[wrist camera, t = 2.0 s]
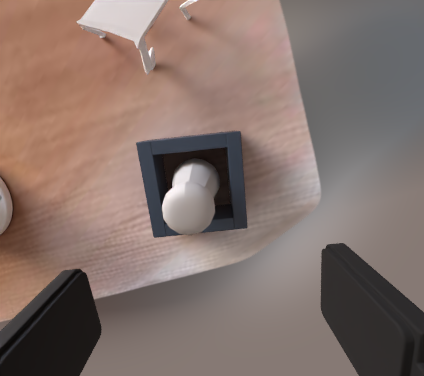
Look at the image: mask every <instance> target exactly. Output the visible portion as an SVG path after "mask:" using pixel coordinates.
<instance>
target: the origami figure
mask: <svg viewBox="0 0 424 376" xmlns="http://www.w3.org/2000/svg"><path fill="white" fill-rule="evenodd" d="M195 1H197V0H188V1H186V2H185V3H183V4H182V5H181V6H180V7H179V9H180V10H181V12H182V13H183V15H184V16H185V18H186V19H187V20H189V19H190V18H191V16H190V15H189V13H188V11H187V10H186V8H185V7H186V6H188V5H190V4H192V3H194V2H195ZM167 2H168V0H95V1H94V2H93V4H92V5H91V6H90V8H89V9H88V10H87V12H86V13H85V14H84V16H83V17H82V18H81V19H80V20H79V21H77V22H76V23H78V24H79V26H80V27H81V28H82V29H83V30H86V31H89V32H92V33H94V34H97V35H99V36H100V38H103V37H105V36H106V35H107V34H105V33H103V32H101V31H106V32H111V33H114V34H116V35H119V36H121V37H124V38H127V39H129V40H132V41H134V42H135V45H136V48H137V49H139V50H140V54H141V58H142V62H143V66H144V70H145V72H146V73H147V75H148V74H149V72H150V70H153V69H154V67H155V65H156V62H155V54H154V48H153V47H151V49H150V50H149V52H148V49H147V46H146V42H145V39H144V37H145V35H146V34H147V32H148V31H149V29H150V28H151V26H152V25H153V23H154V22H155V20H156V19H157V17H158V16H159V14H160V12H161V11H162V9H163V8H164V6H165V5H166V3H167ZM99 30H101V31H99Z"/></svg>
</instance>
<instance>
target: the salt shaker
mask: <svg viewBox="0 0 424 376" xmlns="http://www.w3.org/2000/svg"><path fill="white" fill-rule="evenodd" d="M172 186H173V188H172V189H171V190H170V191H168V192H167V194H166V195H165V198H164V201H163V204H162V212H163V219H164V220H165V222H166V223H167V225H168V226H169V227H170V228H171V229H172V230H174V231H176V232H177V233H179V234H185V235H193V234H197V233H200V232H202V231H203V230H204V229H206V228H207V227H208V226H209V225H210V223H211V221H212V218H213V216H214V214H215V205H214V197H215V196H216V194H217V192H218V189H219V187H220V180H219V174H218V173H217V171H216V169H215V167H214V166H213V165H211V164H210V163H208V162H207V161H205V160H201V159H194V158H193V159H190V160H187V161H184V162H182V163H181V164H180V165H179V166H178V167H177V168H176V169H175V172H174V175H173V177H172Z"/></svg>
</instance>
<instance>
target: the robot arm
mask: <svg viewBox="0 0 424 376" xmlns="http://www.w3.org/2000/svg"><path fill="white" fill-rule="evenodd" d="M12 211H13V207H12V200H11V196H10V193H9V191H8V189H7V187H6V185H5V183H4V182H3V180H2V179H1V177H0V235H1V234H2V233H3V232H4V231H5V230H6V228H7V227H8V225H9V223H10V221H11V218H12ZM321 311H322V314H323V316H324V318H325V320H326V321H327V323H328V325H329V326H330V328H331V330H332V331H333V333H334V335H335V336H336V338H337V340H338V341H339V343H340V345H341V347H342V348H343V350H344V352H345V353H346V355H347V357H348V358H349V360H350V362H351V363H352V365H353V367H354V368H355V370H356V372H357V373H358V375H359V376H424V312H423V311H422V310H420V309H419V308H418V307H417V306H416V305H415V304H414V303H412V302H411V301H410V300H409V299H408V298H406V297H405V296H404V295H403V294H402V293H401V292H400V291H399V290H397V289H396V288H395V287H394V286H393V285H392V284H390V283H389V282H388V281H387V280H386V279H385V278H383V277H382V276H381V275H380V274H379V273H378V272H377V271H375V270H374V269H373V268H372V267H371V266H369V265H368V264H367V263H366V262H365V261H364V260H362V259H361V258H360V257H359V256H358V255H357V254H355V252H353V251H352V250H351V249H350V248H349V247H347V246H346V245H345V244H343V243H339V244H329V245H327V246H326V249H323V250H322V264H321ZM100 335H101V324H100V320H99V317H98V313H97V310H96V306H95V302H94V299H93V295H92V292H91V288H90V285H89V281H88V278H87V275H86V273H85V272H82V270H81V269H73V270H64V271H62V272H61V273H60V274H59V275H58V276H57V277H56V278H55V279H54V280H53V281H52V282H51V283H50V284H49V285H48V286H47V287H46V288H44V289H43V290H42V291H41V292H40V293H39V294H38V295H37V296H36V297H35V298H34V299H33V300H32V301H31V302H30V303H29V304H28V305H27V306H26V307H25V308H24V309H23V310H22V311H21V312H20V313H19V314H17V315H16V316H15V317H14V318H13V319H12V320H11V321H10V322H9V323H8V324H7V325H6V326H5V327H4V328H3V329H2V330H1V331H0V376H79V375H80V373H81V372H82V370H83V368H84V366H85V364H86V362H87V360H88V358H89V357H90V355H91V353H92V351H93V349H94V347H95V345H96V343H97V342H98V339H99V338H100Z"/></svg>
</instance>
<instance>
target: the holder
mask: <svg viewBox="0 0 424 376" xmlns="http://www.w3.org/2000/svg"><path fill="white" fill-rule="evenodd" d="M136 145H137V150H138V155H139V161H140V166H141V172H142V177H143V182H144V188H145V193H146V198H147V204H148V209H149V214H150V220H151V225H152V231H153V236H154V238H156V237H166V236H174V235H184V234H179V233H177V232H176V231H174V230H172V229H171V228H170V227H169V226H168V225H167V223H166V222H165V220H164V219H163V212H162V204H163V201H164V198H165V195H166V194H167V192H168V185H167V179H166V173H165V167H164V160H163V154H170V153H179V152H188V151H198V150H207V149H216V148H225V154H226V165H227V176H228V187H229V198H230V204H225V205H215V214H214V216H213V218H212V221H211V223H210V225H209V226H208V227H207V228H206V229H204V230H203V231H202V232H200V233H204V232H214V231H224V230H234V229H244V228H247V215H246V201H245V187H244V173H243V159H242V145H241V132H240V131H229V132H220V133H210V134H201V135H192V136H183V137H174V138H164V139H155V140H147V141H142V142H137V143H136Z"/></svg>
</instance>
